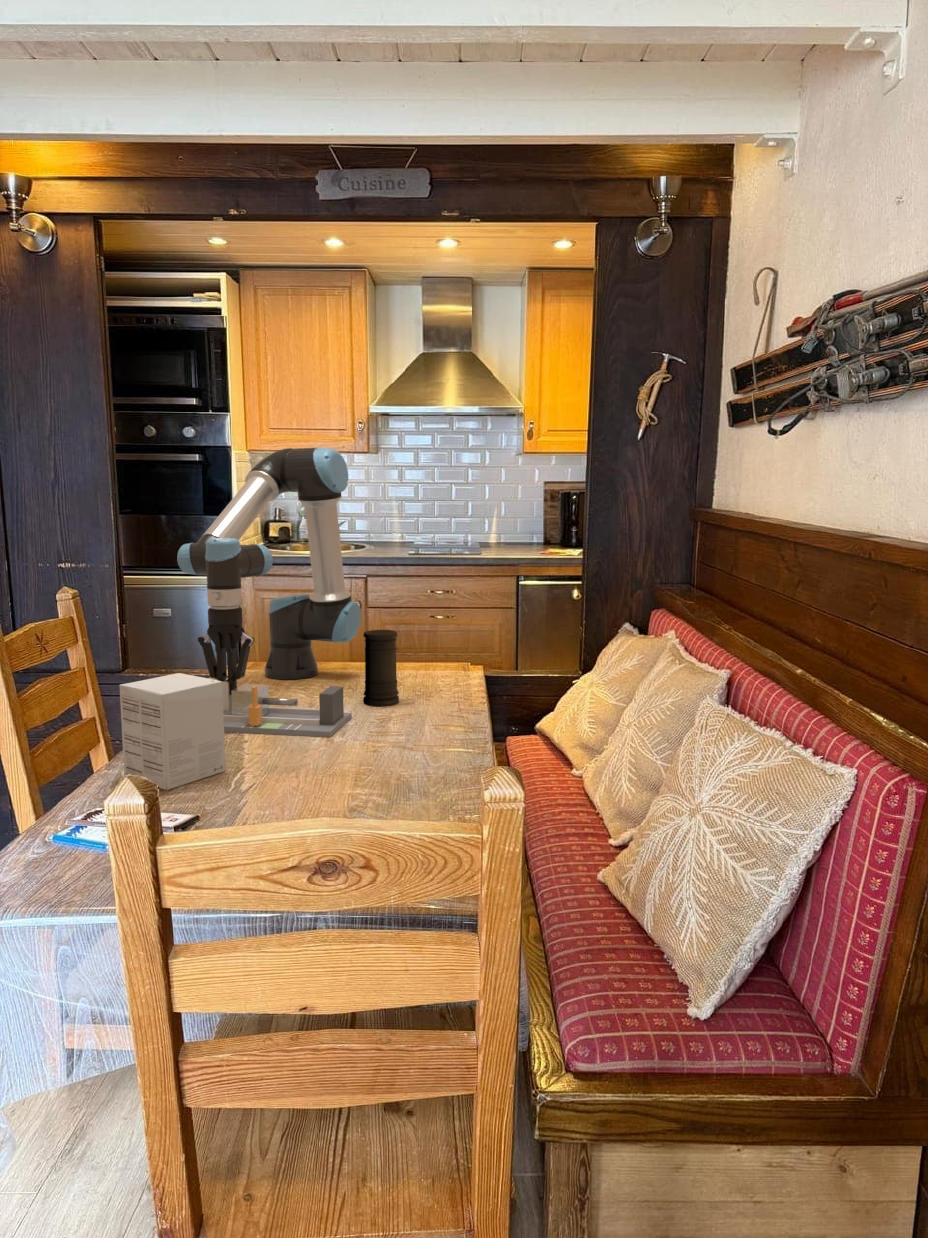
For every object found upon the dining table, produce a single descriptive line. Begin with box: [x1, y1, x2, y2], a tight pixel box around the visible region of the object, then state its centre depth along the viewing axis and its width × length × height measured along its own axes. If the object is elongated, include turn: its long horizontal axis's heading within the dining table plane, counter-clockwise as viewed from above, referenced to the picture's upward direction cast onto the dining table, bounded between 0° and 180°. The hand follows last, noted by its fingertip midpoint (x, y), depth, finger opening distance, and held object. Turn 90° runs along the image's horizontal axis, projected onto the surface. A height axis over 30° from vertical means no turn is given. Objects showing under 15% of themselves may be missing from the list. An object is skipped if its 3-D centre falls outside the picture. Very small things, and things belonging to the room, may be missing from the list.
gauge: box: [231, 683, 299, 717], centre depth 188 cm, size 12×14×6 cm
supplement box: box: [118, 672, 227, 791], centre depth 154 cm, size 13×13×18 cm
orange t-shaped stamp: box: [249, 686, 262, 726], centre depth 184 cm, size 2×2×8 cm
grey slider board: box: [223, 685, 353, 738], centre depth 189 cm, size 16×32×8 cm, turn 81°
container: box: [362, 629, 400, 707], centre depth 209 cm, size 9×9×18 cm
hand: (228, 708), depth 192 cm, fingers closed
